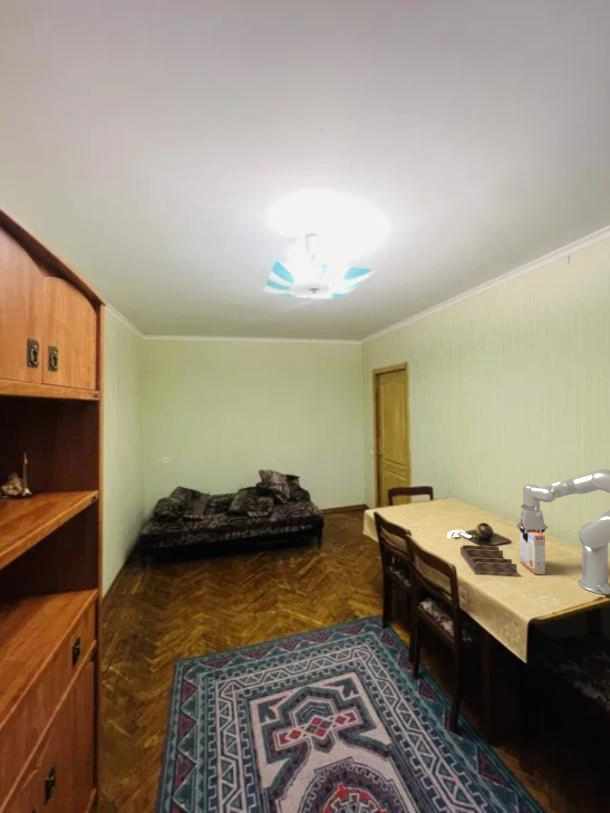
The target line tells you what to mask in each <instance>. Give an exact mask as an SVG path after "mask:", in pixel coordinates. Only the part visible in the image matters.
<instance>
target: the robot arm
mask: <svg viewBox="0 0 610 813" xmlns="http://www.w3.org/2000/svg"><path fill="white" fill-rule="evenodd" d="M599 490H600V491H603V492H605V493H608V494H610V469H606V468H604V469H603V468H602V469H597V470H594V471H591V472H587V473H584V474H582V475H578V476H574V477H571V478H568V479H565V480H560V481H557V482H554V483H551V484H547V485H545V486H544V487H539V486H538V485H536V484H529V483H527V484H524V485H523V486H522V496H523V498H522V500H523V501H522V502H523V503H522V504H521V505H520V508H522V510H521V513H520V514H521V515H520V522H518V523H516V526H515V527H516V528H517V529H518V530H519V531H520V530H521V531H522V532H523V539H524V540H525V541H528V534H527V531H528V530H536V531H538V532H539V533H541V534H543V535H544V532H545V531H546V530H547V529H548V526H547V525H546V523H545V522H544V520H545V519H544V514H543V512H542V510H541V502H544V503H552V502H554V501H555V500H556V499H558V498H561V497H566V496H570V495H584V494H589V493H592V492H595V491H599ZM600 515H601V516H600V517H598V518H597V519H596V520H594V521H589V522H587V523H585V524H584V525H583V526H582V527H581V529H580V530H579V532H578V534H577V535H578V539H579V540H578V541H579V542H580V543H581V547H582V548H581V568H582V569H581V571H582V572H581V573H582V574H581V575H582V576H581V578H579V580H578V582H577V583H578V585H579V586H580V588H583V589H584V590H586V591H589V592H591V593H594V594H598V595H610V585H609V564H608V562H609V561H608V558H609V557H608V553H609V543H610V509H608V510H606V511H605V512H603V513H602V514H600ZM521 526H522V527H523V529H522V528H521Z"/></svg>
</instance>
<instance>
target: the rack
mask: <svg viewBox="0 0 610 813" xmlns="http://www.w3.org/2000/svg"><path fill="white" fill-rule="evenodd" d="M460 555H461V557H462V558H463V560H464V561H465V562H466V564H467V565H468V567H469V568H470V569H471V571H472V572H473V574H474V575H479V576H481V575H482V576H496V577H497V576H499V577H500V576H501V577H518V578H519V577H520V576H521V575H520V573H519V572H518V571H517V566H518V564H517V563H513V559H512V558H505V557H504V551H503V549H501V550H500V547H499V546H497V545H496V546H495V545H494V546H493V545H473V544H472V545H471V544H469V545H468V544H462V546H460Z"/></svg>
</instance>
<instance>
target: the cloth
mask: <svg viewBox="0 0 610 813" xmlns="http://www.w3.org/2000/svg"><path fill="white" fill-rule="evenodd" d="M466 532H467V531H465V530H463V529H453V530H450V531H447V534H446V538H447V540H448V539H449V540H450V539H451V538H453V539H455V540H456V539H457V540H460V539H461V536H462V537H464V538H466V539H469V538H473V535H471V534H468V533H466ZM459 535H460V536H459Z"/></svg>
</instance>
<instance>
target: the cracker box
mask: <svg viewBox="0 0 610 813" xmlns="http://www.w3.org/2000/svg"><path fill="white" fill-rule="evenodd" d="M521 528H522V529H523V527H522V526H521ZM527 534H528V541H525V540H524V539H523V532H522V531H521V530H520V529H519V548H520V549H519V550H520V551H519V553H520V554H519V555H520V557H519V558H520V560H519V561H520V564H521V565H523V566H524V567H525V568H527V569H528V570H529V571H530V572H531V573H533V574H534V575H542V576H543V575H546V535H544V533H543V534H541V533H539V532H538V531H537V530H528V531H527Z"/></svg>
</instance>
